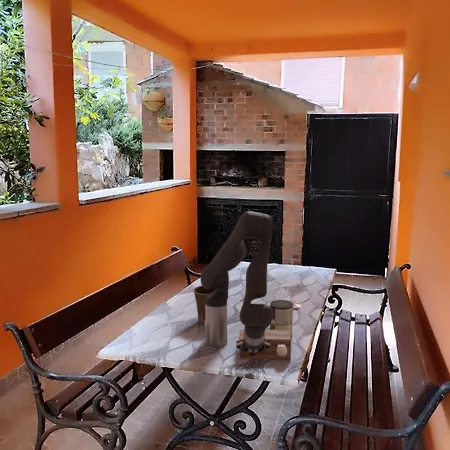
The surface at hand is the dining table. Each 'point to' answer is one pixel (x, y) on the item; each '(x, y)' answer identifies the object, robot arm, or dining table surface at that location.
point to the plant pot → (201, 301)
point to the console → (270, 353)
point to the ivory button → (281, 348)
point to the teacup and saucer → (295, 306)
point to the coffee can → (282, 315)
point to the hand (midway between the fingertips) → (252, 353)
